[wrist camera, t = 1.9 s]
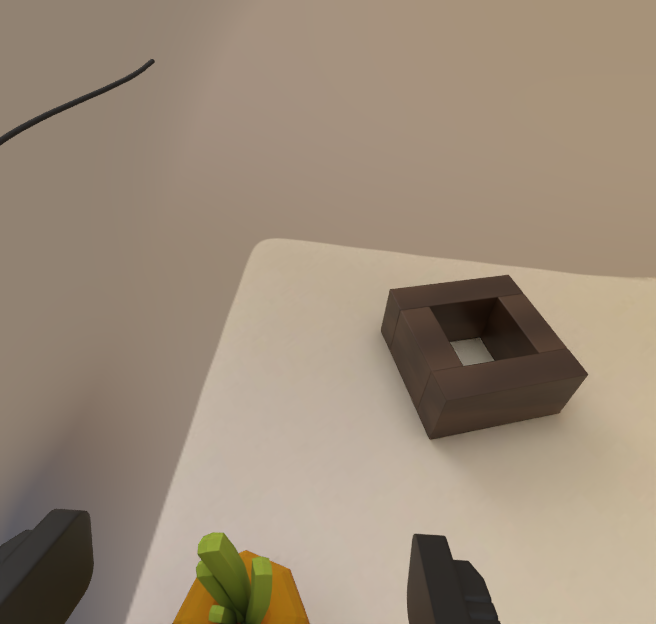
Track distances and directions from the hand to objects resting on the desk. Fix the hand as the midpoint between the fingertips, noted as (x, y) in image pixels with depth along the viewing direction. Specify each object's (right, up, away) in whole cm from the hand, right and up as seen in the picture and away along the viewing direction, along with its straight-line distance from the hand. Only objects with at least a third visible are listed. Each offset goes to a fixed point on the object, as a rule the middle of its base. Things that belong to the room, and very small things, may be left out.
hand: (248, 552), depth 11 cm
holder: (+13, +1, +28) cm, 31 cm away
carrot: (-2, -13, +13) cm, 18 cm away
